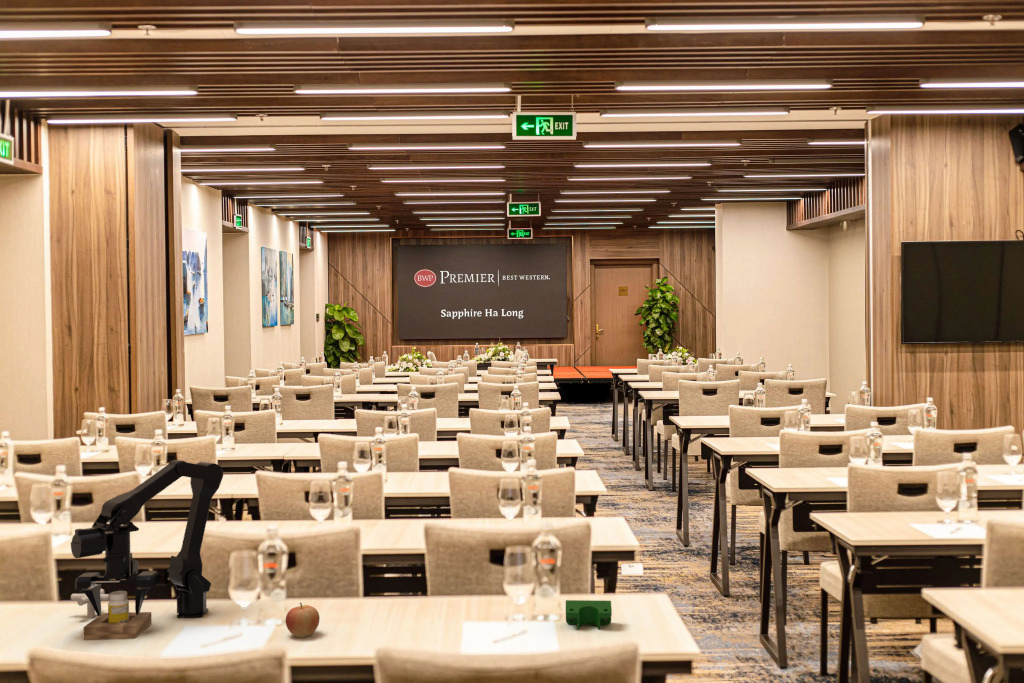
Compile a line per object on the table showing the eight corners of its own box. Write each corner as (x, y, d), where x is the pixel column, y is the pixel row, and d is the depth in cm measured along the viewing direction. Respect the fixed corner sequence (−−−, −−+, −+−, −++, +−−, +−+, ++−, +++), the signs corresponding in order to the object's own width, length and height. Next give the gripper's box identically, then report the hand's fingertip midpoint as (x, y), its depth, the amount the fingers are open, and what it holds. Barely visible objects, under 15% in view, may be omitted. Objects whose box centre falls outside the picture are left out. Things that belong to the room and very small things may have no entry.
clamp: (574, 646, 233) (558, 615, 232) (574, 633, 239) (559, 602, 237) (619, 629, 232) (604, 597, 230) (618, 616, 237) (603, 585, 236)
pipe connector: (119, 611, 253) (119, 573, 253) (99, 622, 243) (99, 583, 243) (83, 611, 254) (82, 573, 254) (61, 621, 244) (61, 582, 244)
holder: (151, 623, 241) (151, 611, 241) (134, 638, 229) (134, 625, 229) (102, 625, 241) (102, 613, 241) (83, 639, 229) (83, 626, 229)
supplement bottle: (112, 624, 237) (111, 590, 237) (131, 623, 237) (131, 589, 237) (105, 630, 232) (105, 595, 232) (125, 629, 233) (125, 594, 233)
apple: (289, 642, 225) (288, 608, 225) (282, 633, 232) (282, 600, 232) (323, 638, 228) (322, 604, 228) (316, 629, 235) (315, 596, 235)
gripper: (166, 543, 243) (167, 605, 243) (91, 545, 243) (92, 607, 242) (152, 553, 232) (153, 617, 232) (73, 555, 231) (74, 619, 231)
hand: (118, 615), depth 235 cm, fingers open, 9 cm apart
